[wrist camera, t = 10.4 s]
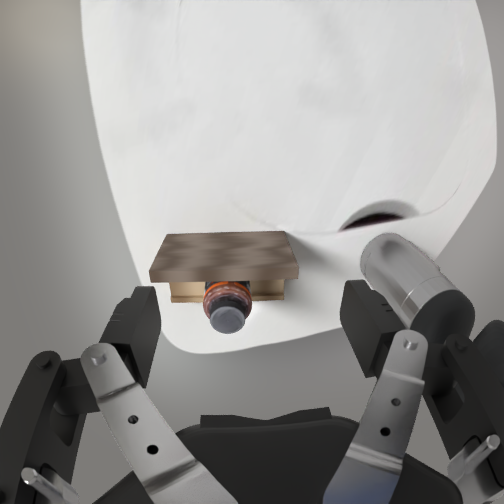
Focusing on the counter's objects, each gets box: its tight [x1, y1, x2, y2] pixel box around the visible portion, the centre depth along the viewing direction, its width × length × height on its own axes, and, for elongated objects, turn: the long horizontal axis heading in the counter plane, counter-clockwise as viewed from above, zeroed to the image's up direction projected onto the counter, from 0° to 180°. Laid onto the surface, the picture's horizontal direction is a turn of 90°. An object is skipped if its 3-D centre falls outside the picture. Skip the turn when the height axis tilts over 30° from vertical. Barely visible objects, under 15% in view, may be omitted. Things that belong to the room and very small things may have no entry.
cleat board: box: [149, 231, 299, 303], centre depth 40 cm, size 17×10×11 cm, turn 90°
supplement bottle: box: [203, 281, 252, 334], centre depth 38 cm, size 6×6×11 cm
